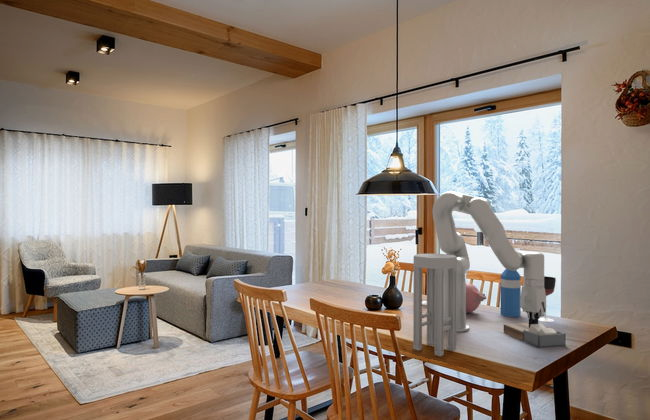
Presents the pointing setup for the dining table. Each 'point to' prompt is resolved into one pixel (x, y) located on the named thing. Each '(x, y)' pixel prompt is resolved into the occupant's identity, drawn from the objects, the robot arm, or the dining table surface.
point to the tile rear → (536, 328)
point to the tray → (545, 339)
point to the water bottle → (510, 293)
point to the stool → (435, 301)
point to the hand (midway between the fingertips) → (533, 328)
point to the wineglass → (548, 293)
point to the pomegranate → (473, 298)
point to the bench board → (516, 329)
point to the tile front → (547, 331)
